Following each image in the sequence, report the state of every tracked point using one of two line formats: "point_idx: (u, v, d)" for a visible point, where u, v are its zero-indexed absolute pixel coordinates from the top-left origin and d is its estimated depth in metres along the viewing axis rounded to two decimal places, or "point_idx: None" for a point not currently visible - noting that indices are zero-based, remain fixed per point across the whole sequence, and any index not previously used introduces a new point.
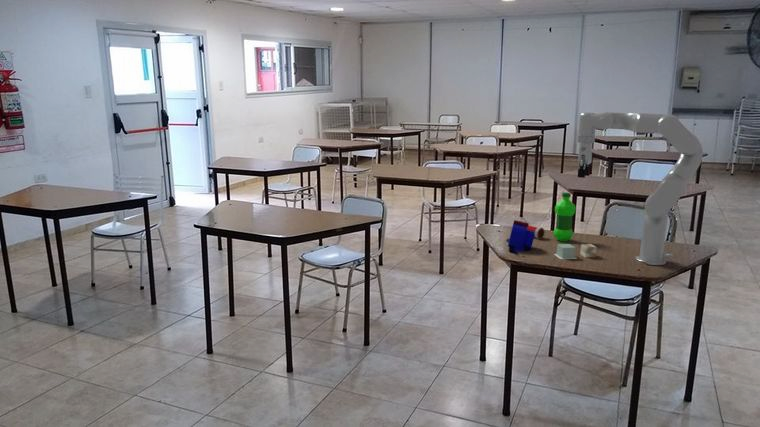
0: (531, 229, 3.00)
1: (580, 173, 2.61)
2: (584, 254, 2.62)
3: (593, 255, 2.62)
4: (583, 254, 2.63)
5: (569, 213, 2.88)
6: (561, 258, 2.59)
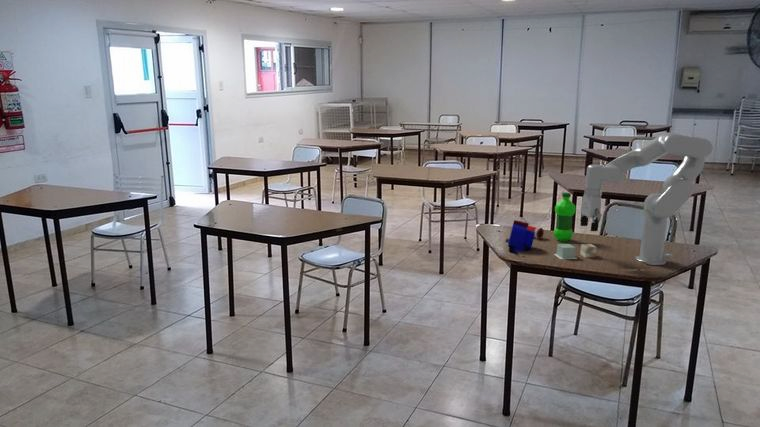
0: (530, 229, 3.00)
1: None
2: (584, 254, 2.62)
3: (593, 255, 2.62)
4: (583, 254, 2.63)
5: (569, 213, 2.88)
6: (561, 258, 2.59)
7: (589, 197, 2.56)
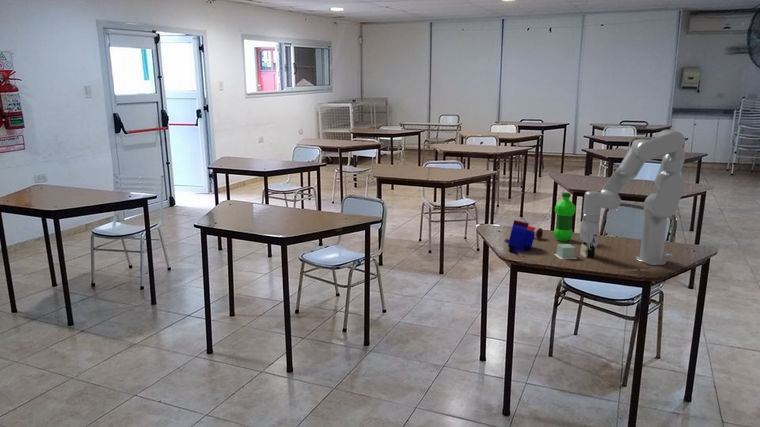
0: (530, 229, 2.99)
1: None
2: (584, 254, 2.62)
3: None
4: (583, 254, 2.63)
5: (569, 213, 2.88)
6: (561, 258, 2.59)
7: (587, 223, 2.58)
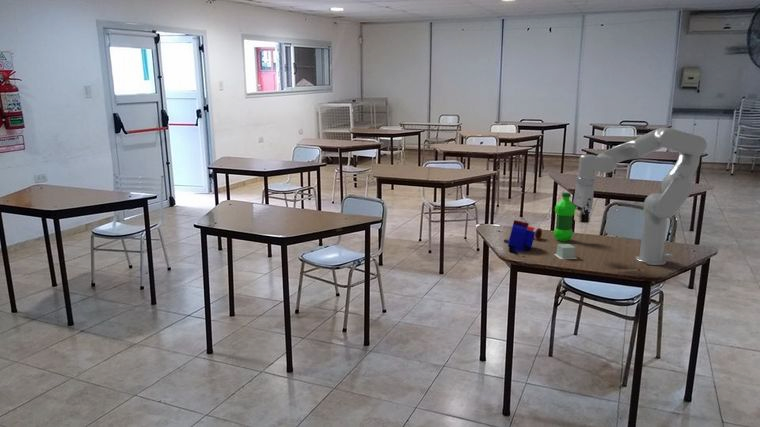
0: None
1: None
2: (578, 218, 2.58)
3: None
4: (577, 219, 2.59)
5: (569, 213, 2.88)
6: (561, 258, 2.59)
7: (582, 187, 2.54)
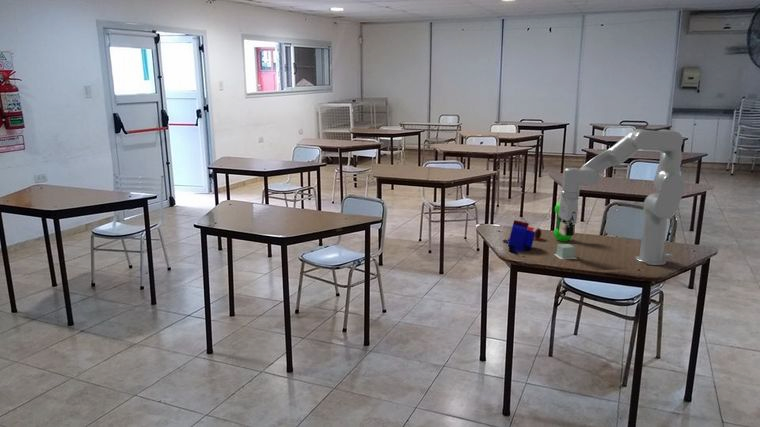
0: None
1: None
2: (563, 231, 2.58)
3: None
4: (562, 232, 2.59)
5: None
6: (561, 258, 2.59)
7: (566, 200, 2.55)
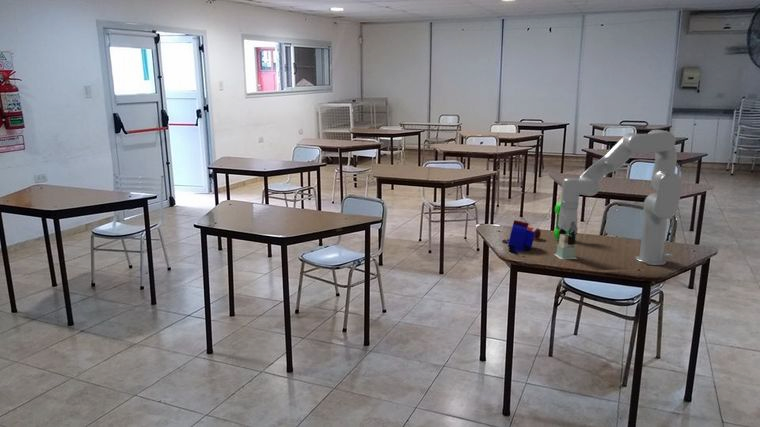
0: None
1: None
2: (563, 243, 2.59)
3: (572, 245, 2.59)
4: (562, 244, 2.61)
5: None
6: (561, 258, 2.59)
7: (565, 210, 2.56)
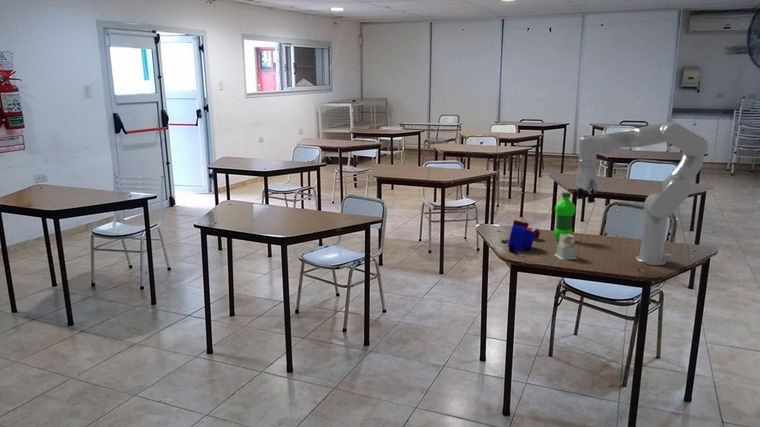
0: None
1: None
2: (563, 243, 2.59)
3: (572, 245, 2.59)
4: (562, 244, 2.61)
5: (569, 213, 2.88)
6: (561, 258, 2.59)
7: (584, 169, 2.56)
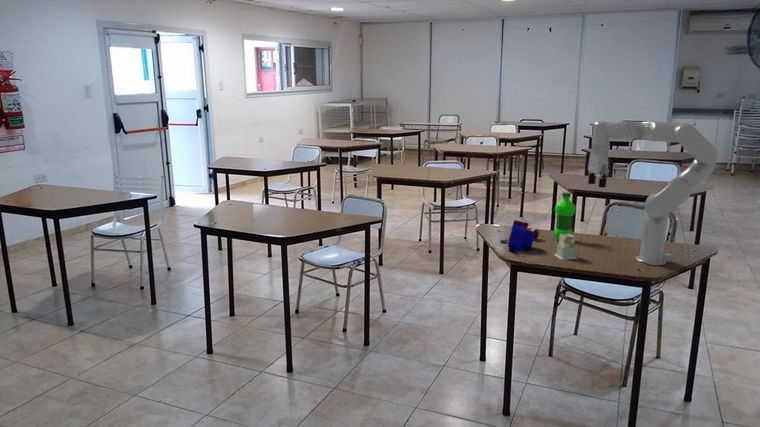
0: None
1: None
2: (563, 243, 2.59)
3: (572, 245, 2.59)
4: (562, 244, 2.61)
5: (569, 213, 2.88)
6: (561, 258, 2.59)
7: (596, 153, 2.58)
